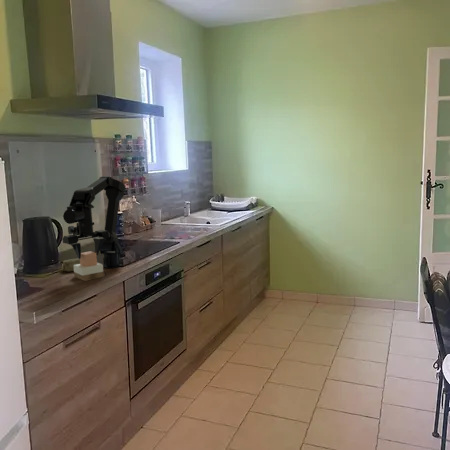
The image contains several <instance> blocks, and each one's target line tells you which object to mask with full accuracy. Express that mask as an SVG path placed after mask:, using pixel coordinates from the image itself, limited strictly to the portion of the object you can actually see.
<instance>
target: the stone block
mask: <svg viewBox="0 0 450 450" xmlns="http://www.w3.org/2000/svg"><path fill="white" fill-rule="evenodd" d="M76 264H80V259H79V258H78V257H76V258H71V259H64V260H62V271H64V272H68V273H69V272H74V266H73V265H76Z"/></svg>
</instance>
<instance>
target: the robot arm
mask: <svg viewBox="0 0 450 450" xmlns="http://www.w3.org/2000/svg"><path fill="white" fill-rule="evenodd" d="M103 190H104V191H105V196H106V198H107V208H106V217H105V225H104V229H100V230H99V229H98V230H95V231H94V226H95V222H93V215H92V214H93V212H92V209H94V208H95V206H94V205H93V204H92V203H93V202H94V201H95V200H96V195H98V194H99V193H101V192H103ZM125 191H126V186H125V184H124V183H123V182H122V181H119V180H117V179H115V178H113V177H112V176H108V175H107V176H106V175H104V176H99V178H98V179H97V180H95V181H94V182H92V183H91V184H90V185H87V186H86V187H83V188H79V189H75V190H74V191H73V194H72V197H71V199H70V202H69V206H67V207H66V210H65V211H64V212H63V215H62V217H63V220H64V222H66V224H68V225H69V226H68V227H67V232H68V234H67V235H63V236H62V243H63V244H67V245H69V246H71V247H72V249H74V252H75V254H76V256H77V258H79V259H81V253H82V252H81V251H82V250H81V249H82V248H81V247H82V246H81V244H82V243H81V242H79V241H82V240H88V239H92V240H93V242H94V252H95V253H96V256H98V255H99V253H100V255H103V257H102V260H103V268H107V269H115V268H118V267H122V266H123V265H122V264H121V260H120V258H121V257H120V255H122V253H123V246H122V245H121V244H120V243H119V237H118V234H117V232H116V231H117V224H118V223H117V222H118V215H119V207H120V202H121V200H122V199H123V197H125V196H124V195H125ZM74 223H75V224H76V226H73V225H71V224H74Z"/></svg>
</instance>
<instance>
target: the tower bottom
mask: <svg viewBox="0 0 450 450" xmlns="http://www.w3.org/2000/svg"><path fill="white" fill-rule="evenodd" d="M73 276H74V278H75V279H78V280H82V281H84V282H87V281H90V280H91V281H92V280H95V279H98V278H100V279H101V278H103V277H105V270H103V272H98V273H93V274H88V275H83V276H82V275H80V274H78V273H75V272H74V271H73Z"/></svg>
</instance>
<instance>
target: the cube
mask: <svg viewBox="0 0 450 450" xmlns="http://www.w3.org/2000/svg"><path fill="white" fill-rule="evenodd" d="M97 263H98V259H97V255H96V253H95V251H91V250H90V251H85V252H81V259H80V265H82V266H85V267H87V266H92V265H97Z"/></svg>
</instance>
